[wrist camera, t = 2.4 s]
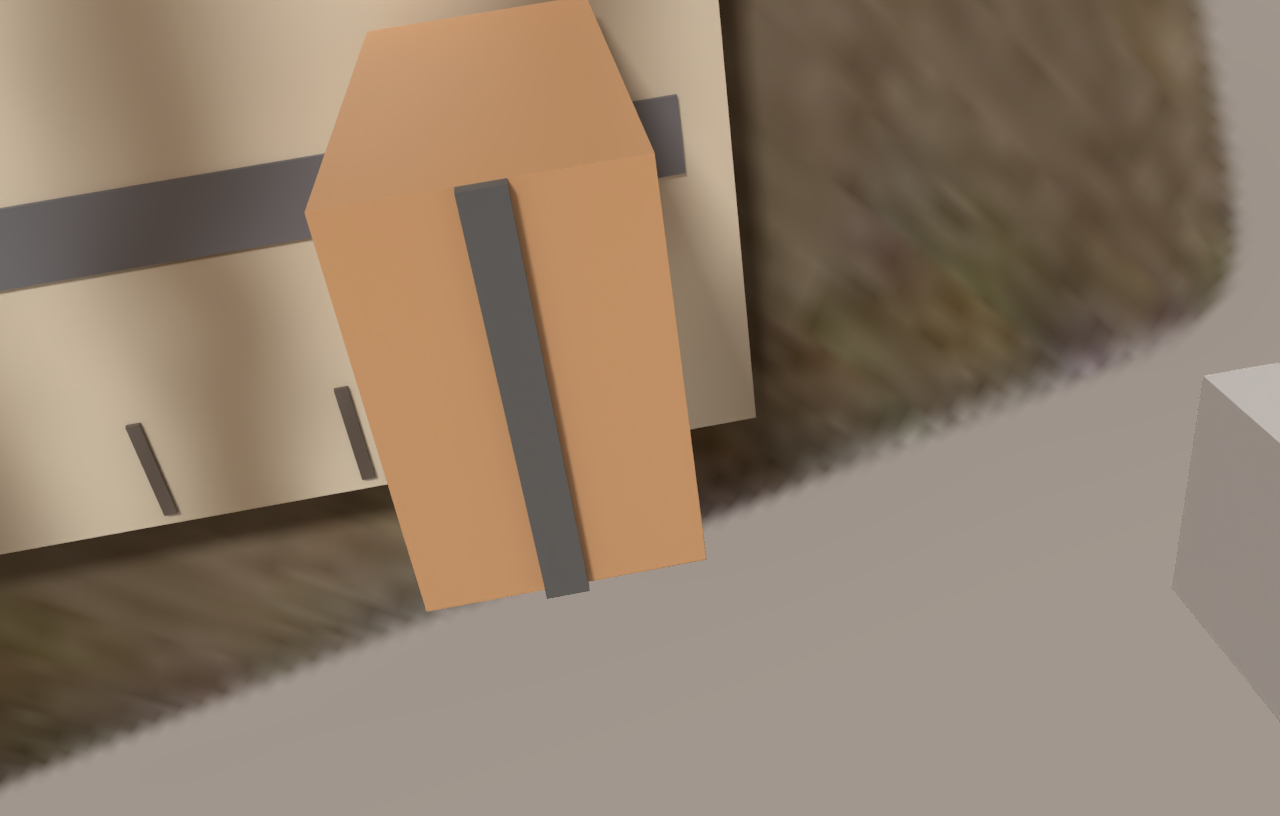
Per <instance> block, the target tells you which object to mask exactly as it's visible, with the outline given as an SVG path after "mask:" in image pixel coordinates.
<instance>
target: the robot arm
mask: <svg viewBox="0 0 1280 816" xmlns="http://www.w3.org/2000/svg"><path fill="white" fill-rule="evenodd" d="M1172 589H1173V590H1174V592H1175V593H1176V594H1177V595H1178V597H1179V598H1180V599H1181V600H1182V602H1183V603H1184V604H1185V605H1186V607H1187V608H1188V609H1189V610H1190V612H1191V613H1192V614H1193V615H1194V616H1195V618H1196V619H1197V620H1198V621H1199V623H1200V624H1201V625H1202V626H1203V628H1204V629H1205V630H1206V631H1207V632H1208V634H1209V635H1210V636H1211V637H1212V639H1213V640H1214V641H1215V642H1216V644H1217V645H1218V646H1219V647H1220V649H1221V650H1222V651H1223V652H1224V653H1225V654H1226V656H1227V657H1228V658H1229V660H1230V661H1231V662H1232V663H1233V664H1234V666H1235V667H1236V668H1237V669H1238V671H1239V672H1240V673H1241V674H1242V676H1243V677H1244V678H1245V679H1246V681H1247V682H1248V683H1249V684H1250V685H1251V687H1252V688H1253V689H1254V690H1255V691H1256V693H1257V694H1258V695H1259V696H1260V698H1261V699H1262V700H1263V701H1264V703H1265V704H1266V705H1267V706H1268V708H1269V709H1270V710H1271V711H1272V713H1273V714H1274V715H1275V716H1276V717H1277V719H1278V720H1279V721H1280V364H1279V363H1273V364H1268V365H1263V366H1256V367H1251V368H1245V369H1239V370H1234V371H1228V372H1223V373H1217V374H1211V375H1206V376H1203V382H1202V388H1201V395H1200V402H1199V409H1198V415H1197V422H1196V429H1195V436H1194V443H1193V449H1192V455H1191V462H1190V469H1189V476H1188V482H1187V489H1186V496H1185V503H1184V510H1183V516H1182V523H1181V530H1180V537H1179V543H1178V550H1177V558H1176V564H1175V570H1174V577H1173V584H1172Z"/></svg>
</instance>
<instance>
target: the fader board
mask: <svg viewBox="0 0 1280 816" xmlns="http://www.w3.org/2000/svg"><path fill="white" fill-rule="evenodd" d="M550 1H556V0H0V555H1V554H6V553H12V552H17V551H23V550H28V549H34V548H39V547H45V546H50V545H56V544H61V543H67V542H72V541H78V540H83V539H89V538H94V537H100V536H105V535H111V534H116V533H122V532H127V531H133V530H138V529H144V528H149V527H155V526H161V525H166V524H172V523H177V522H183V521H188V520H194V519H199V518H205V517H210V516H216V515H221V514H227V513H232V512H238V511H243V510H249V509H254V508H260V507H265V506H271V505H276V504H282V503H287V502H293V501H298V500H304V499H309V498H315V497H320V496H326V495H331V494H337V493H342V492H348V491H353V490H359V489H365V488H370V487H376V486H381V485H387V481H386V477H385V474H384V471H383V468H382V464H381V461H380V458H379V454H378V451H377V448H376V445H375V441H374V438H373V435H372V432H371V428H370V425H369V422H368V419H367V415H366V412H365V409H364V406H363V402H362V399H361V396H360V393H359V389H358V386H357V383H356V380H355V376H354V373H353V370H352V366H351V363H350V360H349V357H348V353H347V350H346V347H345V344H344V340H343V337H342V334H341V331H340V327H339V324H338V321H337V318H336V314H335V311H334V308H333V305H332V301H331V298H330V295H329V291H328V288H327V285H326V282H325V278H324V275H323V272H322V269H321V265H320V262H319V259H318V256H317V252H316V249H315V246H314V243H313V239H312V236H311V233H310V230H309V226H308V223H307V220H306V216H305V213H304V212H305V209H306V206H307V203H308V201H309V198H310V195H311V192H312V189H313V186H314V183H315V180H316V177H317V175H318V172H319V169H320V166H321V163H322V160H323V157H324V154H325V152H326V149H327V146H328V143H329V140H330V137H331V134H332V131H333V128H334V126H335V123H336V120H337V117H338V114H339V111H340V108H341V105H342V103H343V100H344V97H345V94H346V91H347V88H348V85H349V82H350V80H351V77H352V74H353V71H354V68H355V65H356V62H357V59H358V56H359V54H360V51H361V48H362V45H363V42H364V39H365V36H366V33H367V31H373V30H379V29H385V28H392V27H398V26H404V25H410V24H416V23H422V22H428V21H434V20H440V19H446V18H452V17H458V16H465V15H471V14H477V13H483V12H489V11H495V10H501V9H507V8H513V7H519V6H525V5H531V4H538V3H544V2H550ZM588 2H589V4H590V6H591V9H592V11H593V13H594V15H595V18H596V20H597V22H598V25H599V27H600V29H601V31H602V34H603V36H604V38H605V41H606V43H607V45H608V47H609V50H610V52H611V54H612V57H613V59H614V61H615V63H616V66H617V68H618V70H619V73H620V75H621V77H622V79H623V82H624V84H625V86H626V89H627V91H628V93H629V95H630V98H631V100H632V102H633V105H634V107H635V109H636V111H637V114H638V116H639V118H640V121H641V123H642V125H643V127H644V130H645V132H646V134H647V137H648V139H649V141H650V143H651V146H652V148H653V150H654V153H655V160H656V168H657V176H658V183H659V191H660V199H661V207H662V215H663V223H664V230H665V238H666V246H667V254H668V262H669V270H670V277H671V285H672V293H673V301H674V309H675V317H676V324H677V332H678V340H679V348H680V356H681V363H682V371H683V379H684V387H685V395H686V403H687V410H688V418H689V426H690V429H695V428H701V427H706V426H712V425H717V424H723V423H728V422H734V421H739V420H745V419H751V418H756V412H755V401H754V389H753V378H752V367H751V356H750V345H749V334H748V323H747V312H746V301H745V290H744V278H743V267H742V256H741V245H740V234H739V223H738V212H737V201H736V190H735V179H734V167H733V156H732V145H731V134H730V123H729V112H728V101H727V90H726V79H725V67H724V56H723V45H722V34H721V23H720V12H719V1H718V0H588Z"/></svg>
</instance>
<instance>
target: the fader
mask: <svg viewBox="0 0 1280 816" xmlns="http://www.w3.org/2000/svg"><path fill="white" fill-rule="evenodd" d="M304 213H305V216H306V220H307V223H308V226H309V230H310V233H311V236H312V239H313V243H314V246H315V249H316V252H317V256H318V259H319V262H320V265H321V269H322V272H323V275H324V278H325V282H326V285H327V288H328V291H329V295H330V298H331V301H332V305H333V308H334V311H335V314H336V318H337V321H338V324H339V327H340V331H341V334H342V337H343V340H344V344H345V347H346V350H347V353H348V357H349V360H350V363H351V366H352V370H353V373H354V376H355V380H356V383H357V386H358V389H359V393H360V396H361V399H362V402H363V406H364V409H365V412H366V415H367V419H368V422H369V425H370V428H371V432H372V435H373V438H374V441H375V445H376V448H377V451H378V454H379V458H380V461H381V464H382V468H383V471H384V474H385V477H386V481H387V484H388V487H389V490H390V494H391V497H392V500H393V503H394V507H395V510H396V513H397V516H398V520H399V523H400V526H401V529H402V533H403V536H404V539H405V543H406V546H407V549H408V552H409V556H410V559H411V562H412V565H413V569H414V572H415V575H416V578H417V582H418V585H419V588H420V591H421V595H422V598H423V601H424V604H425V608H426V611H427V612H428V611H433V610H439V609H444V608H449V607H455V606H460V605H465V604H471V603H476V602H481V601H487V600H492V599H498V598H503V597H508V596H514V595H519V594H524V593H530V592H535V591H541V590H545V591H546V596H547V599H548V598H554V597H559V596H564V595H569V594H575V593H580V592H586V591H589V583H588V582H589V581H594V580H599V579H605V578H610V577H616V576H621V575H626V574H632V573H637V572H642V571H648V570H653V569H658V568H664V567H669V566H674V565H680V564H685V563H691V562H696V561H701V560H706V552H705V544H704V536H703V528H702V520H701V512H700V504H699V497H698V489H697V481H696V473H695V465H694V457H693V450H692V442H691V434H690V426H689V418H688V410H687V403H686V395H685V387H684V379H683V371H682V363H681V356H680V348H679V340H678V332H677V324H676V317H675V309H674V301H673V293H672V285H671V277H670V270H669V262H668V254H667V246H666V238H665V230H664V223H663V215H662V207H661V199H660V191H659V183H658V176H657V168H656V160H655V153H654V150H653V148H652V146H651V143H650V141H649V139H648V137H647V134H646V132H645V130H644V127H643V125H642V123H641V121H640V118H639V116H638V114H637V111H636V109H635V107H634V105H633V102H632V100H631V98H630V95H629V93H628V91H627V89H626V86H625V84H624V82H623V79H622V77H621V75H620V73H619V70H618V68H617V66H616V63H615V61H614V59H613V57H612V54H611V52H610V50H609V47H608V45H607V43H606V41H605V38H604V36H603V34H602V31H601V29H600V27H599V25H598V22H597V20H596V18H595V15H594V13H593V11H592V9H591V6H590V4H589V2H588V0H556V1H550V2H544V3H538V4H531V5H525V6H519V7H513V8H507V9H501V10H495V11H489V12H483V13H477V14H471V15H465V16H458V17H452V18H446V19H440V20H434V21H428V22H422V23H416V24H410V25H404V26H398V27H392V28H385V29H379V30H373V31H367V33H366V36H365V39H364V42H363V45H362V48H361V51H360V54H359V56H358V59H357V62H356V65H355V68H354V71H353V74H352V77H351V80H350V82H349V85H348V88H347V91H346V94H345V97H344V100H343V103H342V105H341V108H340V111H339V114H338V117H337V120H336V123H335V126H334V128H333V131H332V134H331V137H330V140H329V143H328V146H327V149H326V152H325V154H324V157H323V160H322V163H321V166H320V169H319V172H318V175H317V177H316V180H315V183H314V186H313V189H312V192H311V195H310V198H309V201H308V203H307V206H306V209H305V212H304Z"/></svg>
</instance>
